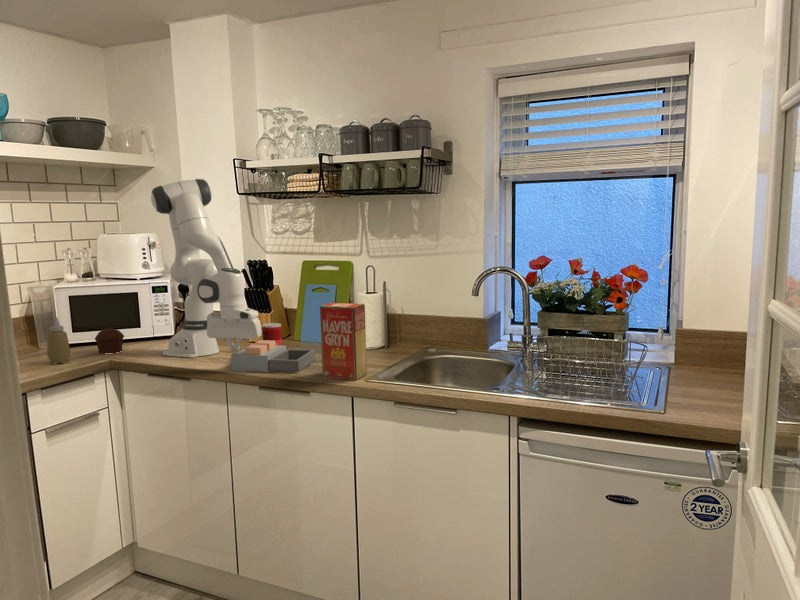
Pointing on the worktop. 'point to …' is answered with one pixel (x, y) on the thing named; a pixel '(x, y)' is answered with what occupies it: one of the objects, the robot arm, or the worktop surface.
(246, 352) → the tile
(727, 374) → the worktop surface
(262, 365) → the grey rectangular box
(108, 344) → the muffin
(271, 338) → the canned food
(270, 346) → the tile
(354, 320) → the food packaging
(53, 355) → the squeeze bottle
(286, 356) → the box
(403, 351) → the worktop surface
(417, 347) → the worktop surface
